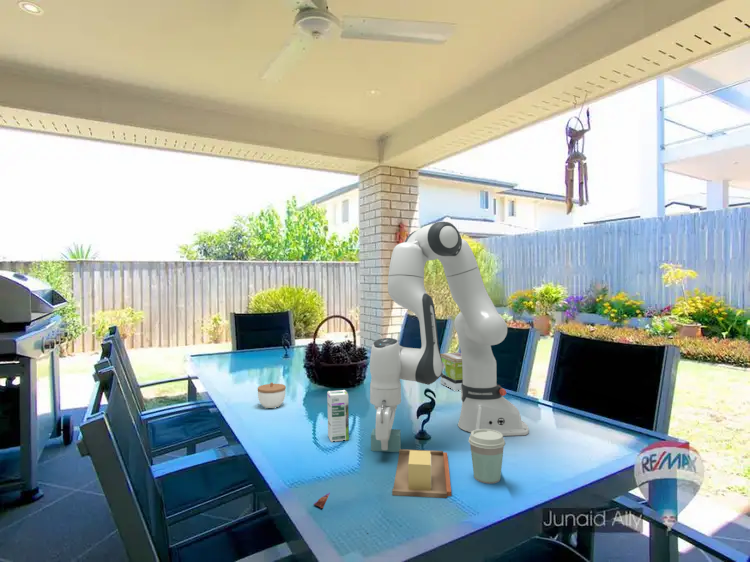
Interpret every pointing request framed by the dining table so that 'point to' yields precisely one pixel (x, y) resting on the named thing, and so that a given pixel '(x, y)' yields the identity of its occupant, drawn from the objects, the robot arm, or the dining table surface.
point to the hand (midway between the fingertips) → (385, 444)
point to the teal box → (393, 441)
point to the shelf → (438, 476)
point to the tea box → (452, 370)
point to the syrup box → (338, 415)
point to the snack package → (322, 501)
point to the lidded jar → (271, 395)
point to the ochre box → (419, 470)
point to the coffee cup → (487, 454)
